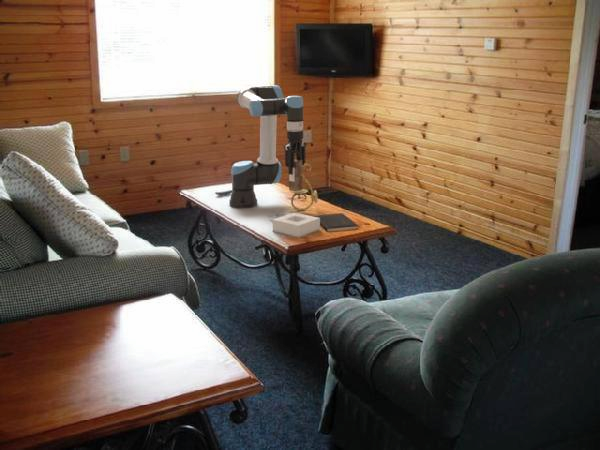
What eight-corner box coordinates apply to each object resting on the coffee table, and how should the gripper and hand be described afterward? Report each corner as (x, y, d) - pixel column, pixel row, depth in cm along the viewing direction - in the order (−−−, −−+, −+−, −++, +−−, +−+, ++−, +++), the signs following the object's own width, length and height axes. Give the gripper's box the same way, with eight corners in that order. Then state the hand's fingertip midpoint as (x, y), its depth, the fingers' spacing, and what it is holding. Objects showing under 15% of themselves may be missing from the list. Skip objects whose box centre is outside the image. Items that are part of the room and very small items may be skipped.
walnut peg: (295, 188, 333) (294, 159, 329) (302, 189, 330) (302, 160, 326) (289, 190, 329) (288, 160, 325) (296, 191, 327) (296, 161, 323)
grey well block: (294, 224, 346) (294, 212, 344) (319, 230, 336) (319, 218, 335) (272, 231, 334) (272, 219, 333) (298, 238, 325) (298, 225, 323)
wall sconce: (313, 207, 377) (313, 161, 370) (318, 211, 368) (318, 164, 361) (288, 208, 374) (287, 162, 367) (292, 213, 365) (291, 166, 358)
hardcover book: (342, 217, 359) (342, 213, 359) (358, 229, 338) (358, 225, 338) (312, 220, 355) (312, 215, 355) (326, 232, 334) (326, 228, 333)
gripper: (289, 133, 313) (289, 184, 320) (313, 128, 326) (313, 177, 332) (276, 131, 318) (277, 182, 324) (300, 127, 330) (301, 175, 337)
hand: (295, 180), depth 328 cm, fingers closed on walnut peg, 4 cm apart
